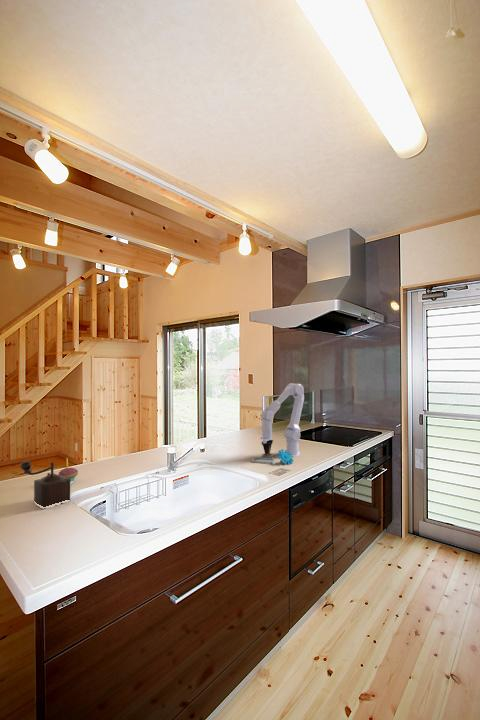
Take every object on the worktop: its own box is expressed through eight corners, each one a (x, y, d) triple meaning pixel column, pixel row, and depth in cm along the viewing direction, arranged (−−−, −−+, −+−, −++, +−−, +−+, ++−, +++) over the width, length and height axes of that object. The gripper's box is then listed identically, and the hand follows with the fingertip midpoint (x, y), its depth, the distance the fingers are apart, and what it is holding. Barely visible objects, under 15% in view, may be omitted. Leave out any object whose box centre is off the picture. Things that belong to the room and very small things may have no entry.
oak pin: (265, 456, 207) (265, 446, 207) (270, 456, 206) (270, 446, 206) (264, 457, 204) (264, 447, 204) (269, 458, 203) (269, 447, 203)
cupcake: (55, 483, 163) (55, 458, 164) (73, 478, 170) (73, 454, 170) (62, 487, 158) (62, 461, 158) (81, 482, 164) (81, 457, 164)
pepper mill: (59, 495, 148) (59, 453, 148) (71, 501, 141) (71, 457, 141) (18, 507, 136) (18, 461, 136) (29, 514, 129) (29, 466, 129)
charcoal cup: (263, 456, 209) (263, 453, 209) (273, 457, 207) (273, 453, 207) (261, 458, 203) (261, 455, 203) (271, 459, 201) (271, 456, 201)
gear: (282, 464, 186) (276, 448, 193) (277, 470, 190) (270, 454, 196) (298, 463, 192) (291, 448, 199) (292, 469, 195) (285, 454, 202)
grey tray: (255, 459, 203) (255, 457, 203) (274, 460, 199) (274, 458, 199) (251, 462, 195) (251, 460, 195) (271, 464, 191) (271, 462, 191)
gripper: (263, 427, 214) (263, 449, 213) (257, 432, 200) (257, 455, 200) (274, 428, 211) (275, 450, 211) (269, 432, 198) (269, 456, 197)
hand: (267, 453), depth 205 cm, fingers closed on oak pin, 3 cm apart
